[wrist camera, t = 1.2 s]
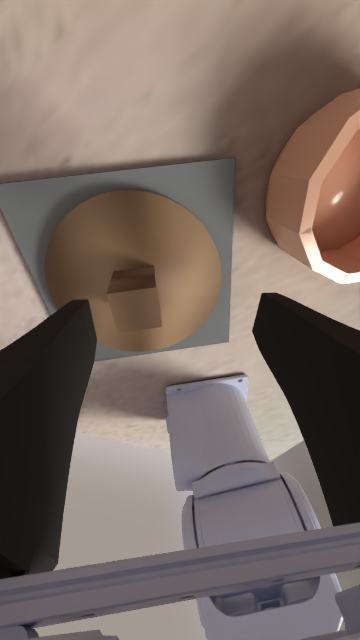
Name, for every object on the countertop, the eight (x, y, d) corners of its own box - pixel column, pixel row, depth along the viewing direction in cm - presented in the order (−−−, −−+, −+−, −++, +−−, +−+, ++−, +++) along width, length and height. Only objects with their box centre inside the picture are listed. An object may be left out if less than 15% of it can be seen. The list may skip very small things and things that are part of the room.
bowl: (258, 263, 20) (288, 291, 16) (275, 102, 14) (328, 78, 10) (373, 248, 20) (431, 271, 16) (435, 86, 14) (549, 57, 10)
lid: (81, 355, 22) (69, 392, 19) (14, 201, 15) (-28, 215, 11) (218, 335, 23) (232, 368, 19) (219, 178, 15) (240, 183, 12)
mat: (76, 360, 23) (74, 364, 23) (-6, 184, 15) (-12, 185, 14) (226, 338, 24) (228, 341, 23) (232, 157, 15) (235, 157, 15)
